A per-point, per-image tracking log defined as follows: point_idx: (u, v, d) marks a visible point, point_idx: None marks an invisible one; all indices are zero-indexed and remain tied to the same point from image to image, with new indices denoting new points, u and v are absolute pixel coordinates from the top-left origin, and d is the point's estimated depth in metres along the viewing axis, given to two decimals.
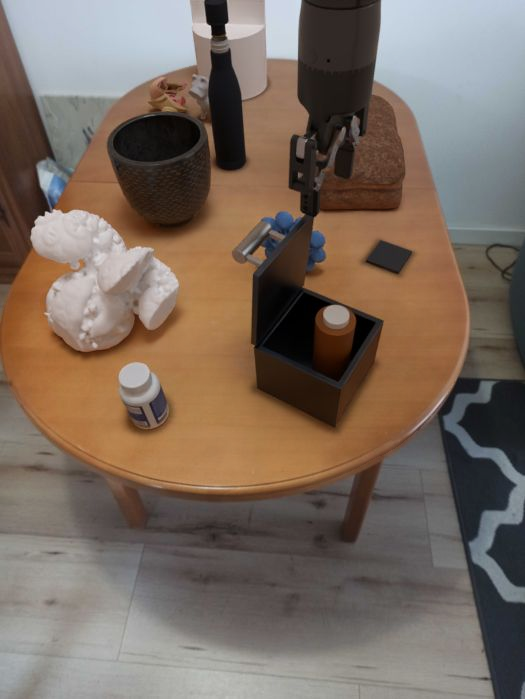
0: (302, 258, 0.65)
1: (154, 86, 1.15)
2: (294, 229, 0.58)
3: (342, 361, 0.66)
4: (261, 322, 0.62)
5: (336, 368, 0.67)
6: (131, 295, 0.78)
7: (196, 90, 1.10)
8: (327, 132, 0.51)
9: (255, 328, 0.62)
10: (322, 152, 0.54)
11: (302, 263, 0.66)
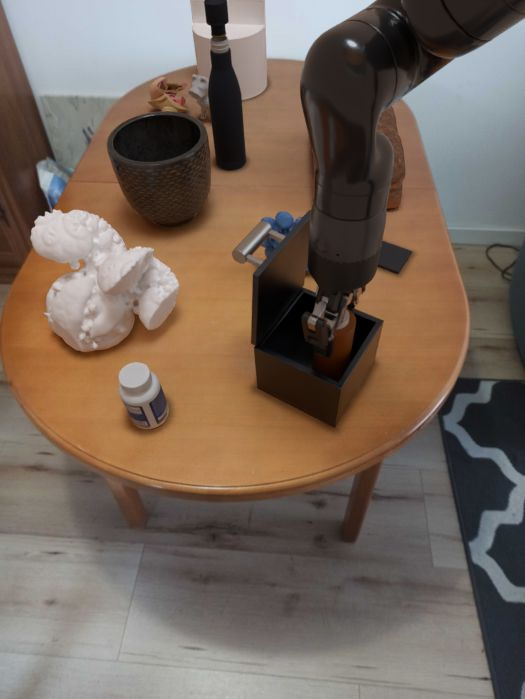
0: (302, 258, 0.65)
1: (154, 86, 1.15)
2: (294, 229, 0.58)
3: (342, 361, 0.66)
4: (261, 322, 0.62)
5: (336, 368, 0.67)
6: (131, 295, 0.78)
7: (196, 91, 1.10)
8: (335, 302, 0.55)
9: (255, 328, 0.62)
10: (330, 312, 0.58)
11: (302, 263, 0.66)
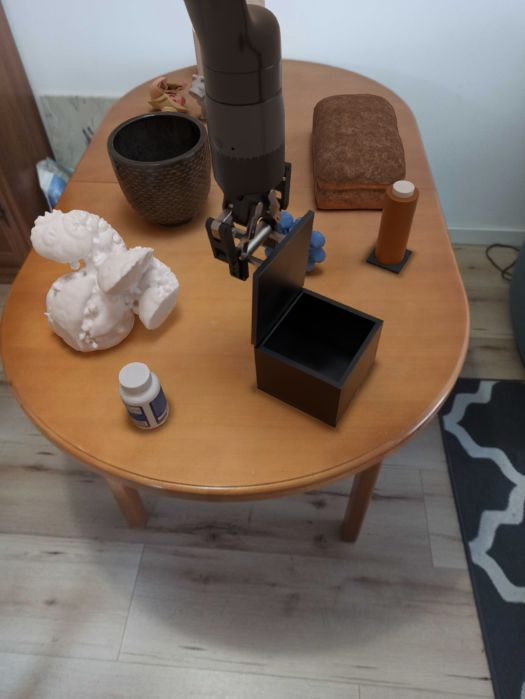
0: (302, 258, 0.65)
1: (154, 86, 1.15)
2: (294, 229, 0.58)
3: (405, 230, 0.81)
4: (261, 322, 0.62)
5: (399, 238, 0.82)
6: (131, 295, 0.78)
7: (196, 91, 1.10)
8: (242, 209, 0.53)
9: (255, 328, 0.62)
10: (241, 224, 0.55)
11: (302, 263, 0.66)
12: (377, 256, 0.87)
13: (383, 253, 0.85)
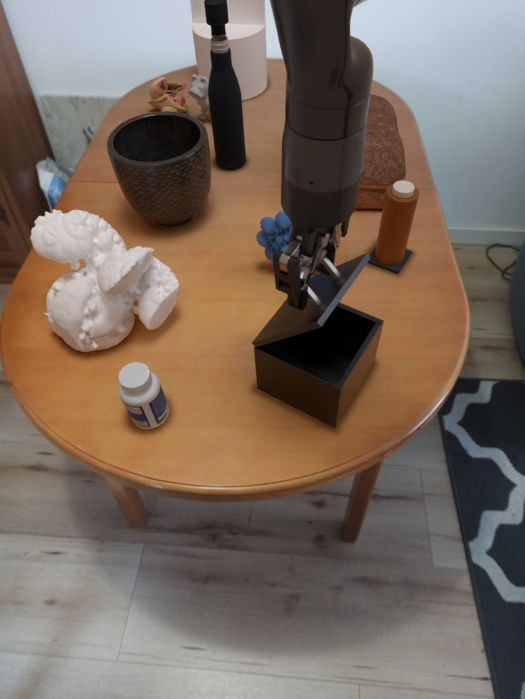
0: None
1: (154, 86, 1.15)
2: (353, 275, 0.59)
3: (405, 230, 0.81)
4: None
5: (399, 238, 0.82)
6: (131, 295, 0.78)
7: (196, 91, 1.10)
8: (310, 241, 0.51)
9: (271, 341, 0.62)
10: (306, 255, 0.53)
11: None
12: (377, 256, 0.87)
13: (383, 253, 0.85)
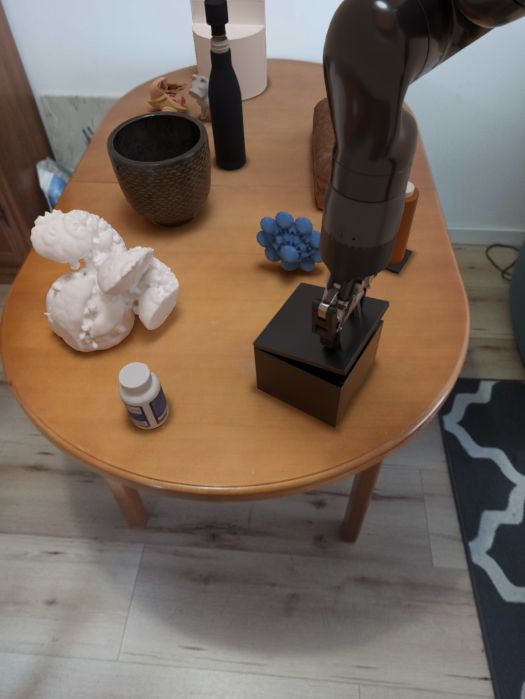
0: None
1: (154, 86, 1.15)
2: (375, 324, 0.62)
3: (405, 230, 0.81)
4: None
5: (399, 238, 0.82)
6: (131, 295, 0.78)
7: (196, 91, 1.10)
8: (347, 289, 0.52)
9: (277, 354, 0.63)
10: (341, 300, 0.55)
11: None
12: None
13: None
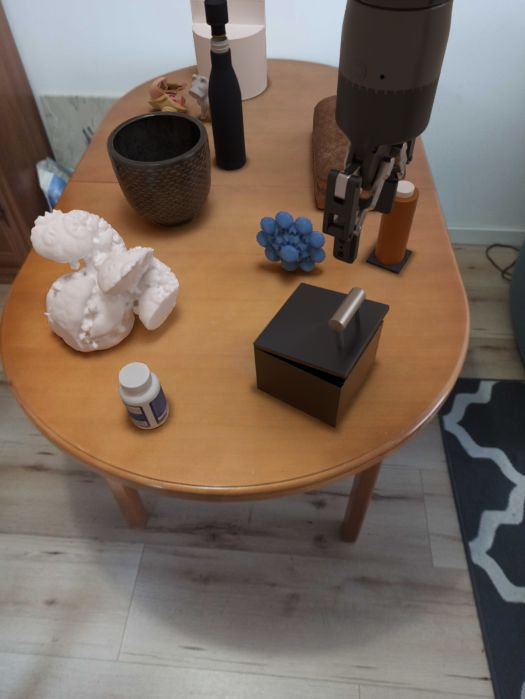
0: None
1: (154, 86, 1.15)
2: (376, 327, 0.63)
3: (405, 230, 0.81)
4: None
5: (399, 238, 0.82)
6: (131, 295, 0.78)
7: (196, 91, 1.10)
8: (373, 165, 0.41)
9: (278, 355, 0.63)
10: (364, 188, 0.43)
11: None
12: (377, 256, 0.87)
13: (383, 253, 0.85)
